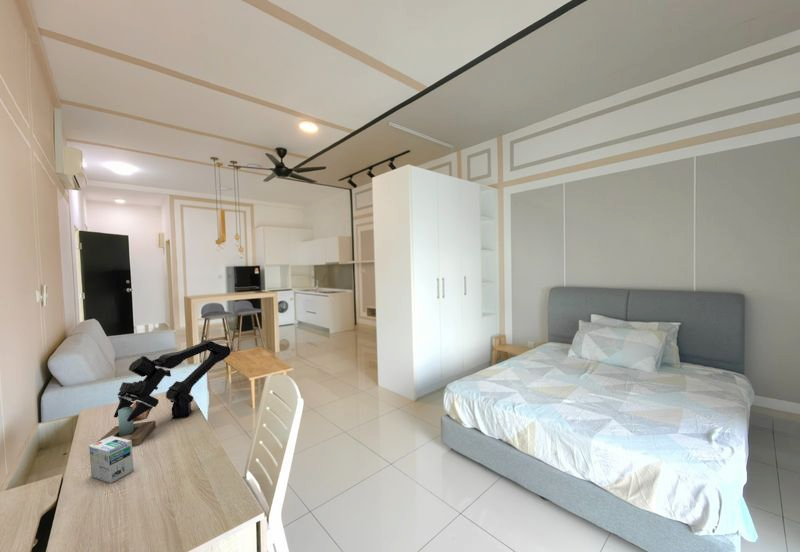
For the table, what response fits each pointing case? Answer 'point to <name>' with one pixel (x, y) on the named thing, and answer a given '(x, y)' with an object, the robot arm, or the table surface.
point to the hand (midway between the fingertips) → (121, 419)
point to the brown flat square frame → (139, 432)
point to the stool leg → (125, 421)
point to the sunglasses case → (143, 415)
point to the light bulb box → (111, 458)
